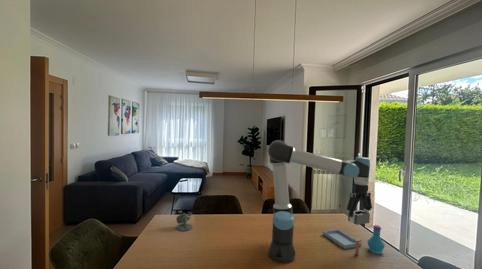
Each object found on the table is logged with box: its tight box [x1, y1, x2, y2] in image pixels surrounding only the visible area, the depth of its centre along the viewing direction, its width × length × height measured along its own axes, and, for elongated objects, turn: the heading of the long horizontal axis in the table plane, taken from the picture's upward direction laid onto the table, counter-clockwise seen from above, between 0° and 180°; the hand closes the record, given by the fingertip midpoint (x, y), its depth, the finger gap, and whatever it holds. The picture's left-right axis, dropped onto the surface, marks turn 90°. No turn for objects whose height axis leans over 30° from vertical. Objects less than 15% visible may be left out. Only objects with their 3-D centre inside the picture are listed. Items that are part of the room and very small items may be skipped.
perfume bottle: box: [367, 224, 385, 254], centre depth 147 cm, size 9×9×15 cm
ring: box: [347, 209, 371, 226], centre depth 142 cm, size 10×8×6 cm
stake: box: [354, 239, 362, 256], centre depth 142 cm, size 4×2×9 cm, turn 110°
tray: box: [322, 228, 362, 250], centre depth 159 cm, size 13×20×2 cm, turn 20°
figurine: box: [175, 210, 193, 232], centre depth 167 cm, size 11×11×12 cm
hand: (358, 221), depth 141 cm, fingers closed on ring, 10 cm apart
